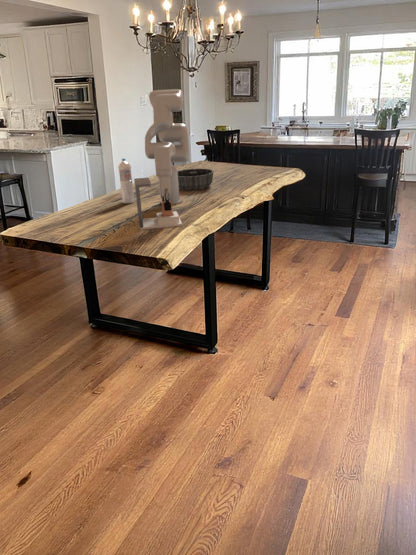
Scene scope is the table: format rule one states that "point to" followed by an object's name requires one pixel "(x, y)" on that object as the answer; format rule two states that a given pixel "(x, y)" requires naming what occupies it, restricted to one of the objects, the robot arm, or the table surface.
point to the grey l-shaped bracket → (139, 183)
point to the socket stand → (162, 221)
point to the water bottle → (126, 182)
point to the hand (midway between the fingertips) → (166, 207)
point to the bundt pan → (195, 178)
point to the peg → (166, 213)
